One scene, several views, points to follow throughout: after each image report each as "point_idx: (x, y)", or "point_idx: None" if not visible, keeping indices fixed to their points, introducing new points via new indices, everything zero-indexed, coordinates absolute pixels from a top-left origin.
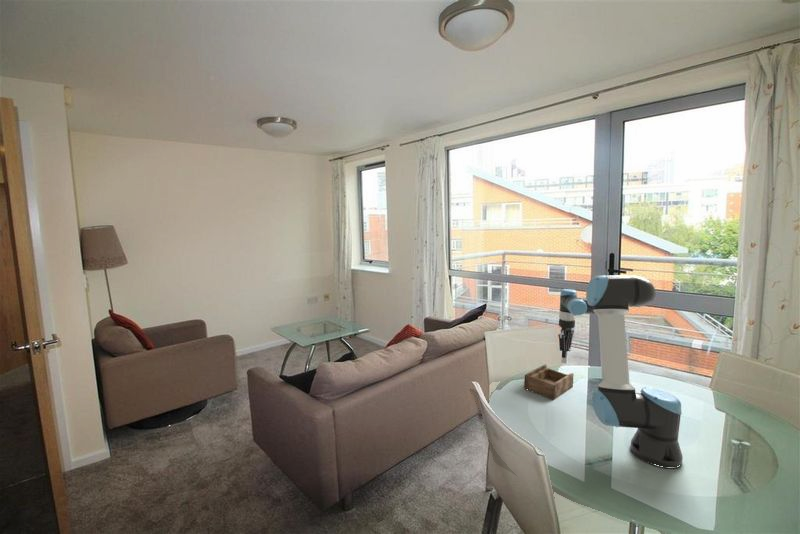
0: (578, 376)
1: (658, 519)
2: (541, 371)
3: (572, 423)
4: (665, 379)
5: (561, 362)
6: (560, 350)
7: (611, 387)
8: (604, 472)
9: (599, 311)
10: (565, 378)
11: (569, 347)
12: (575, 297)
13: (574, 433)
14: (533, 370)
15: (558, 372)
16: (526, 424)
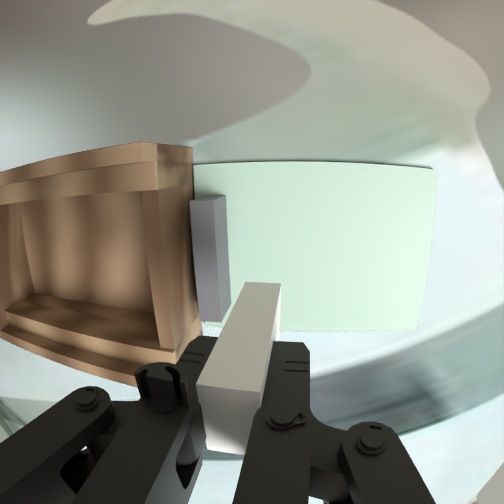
0: (380, 314)
1: None
2: (63, 187)
3: (24, 376)
4: (498, 464)
5: (245, 285)
6: (85, 398)
7: None
8: (7, 415)
9: None
10: (71, 366)
11: (326, 500)
12: None
13: (11, 381)
14: (7, 172)
15: (152, 282)
16: None
